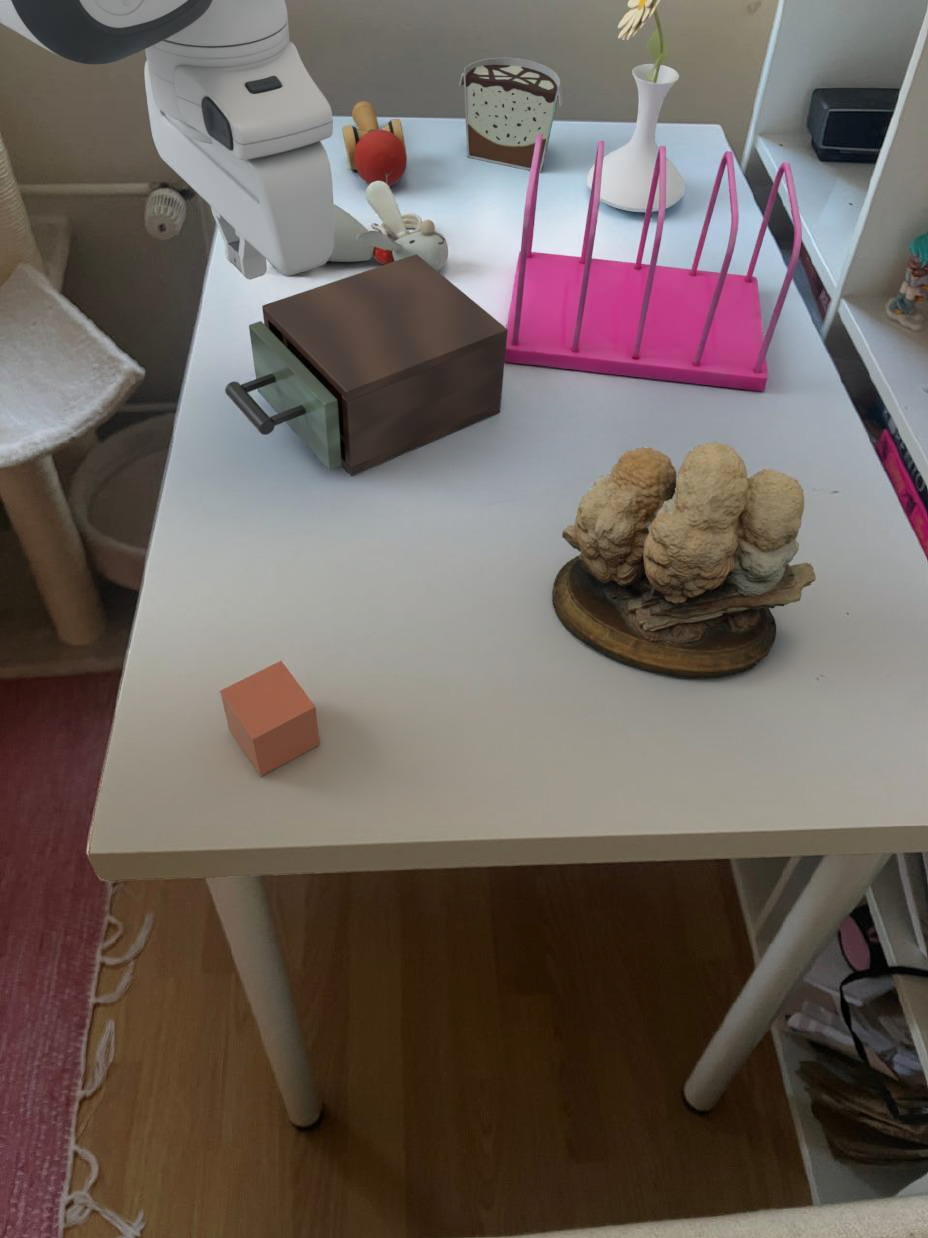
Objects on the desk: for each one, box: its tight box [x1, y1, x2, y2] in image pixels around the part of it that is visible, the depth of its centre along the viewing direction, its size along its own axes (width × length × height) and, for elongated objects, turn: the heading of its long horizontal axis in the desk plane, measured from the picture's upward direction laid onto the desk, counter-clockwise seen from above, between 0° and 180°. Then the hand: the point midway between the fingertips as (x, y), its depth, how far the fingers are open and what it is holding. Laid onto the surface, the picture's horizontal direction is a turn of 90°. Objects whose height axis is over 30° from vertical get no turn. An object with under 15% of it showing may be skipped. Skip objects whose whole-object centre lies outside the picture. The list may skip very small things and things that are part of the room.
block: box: [219, 660, 321, 777], centre depth 66 cm, size 4×4×4 cm
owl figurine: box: [551, 441, 817, 679], centre depth 70 cm, size 18×12×17 cm, turn 75°
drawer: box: [224, 320, 345, 471], centre depth 86 cm, size 19×13×7 cm, turn 126°
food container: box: [458, 57, 564, 174], centre depth 119 cm, size 12×6×10 cm, turn 71°
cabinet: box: [261, 254, 508, 477], centre depth 88 cm, size 16×14×9 cm
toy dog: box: [268, 181, 449, 271], centre depth 103 cm, size 12×19×9 cm, turn 104°
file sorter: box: [505, 134, 803, 392], centre depth 95 cm, size 17×25×16 cm
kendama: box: [341, 100, 408, 187], centre depth 119 cm, size 8×6×18 cm
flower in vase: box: [586, 0, 685, 213], centre depth 108 cm, size 13×11×25 cm
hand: (247, 268), depth 74 cm, fingers closed
